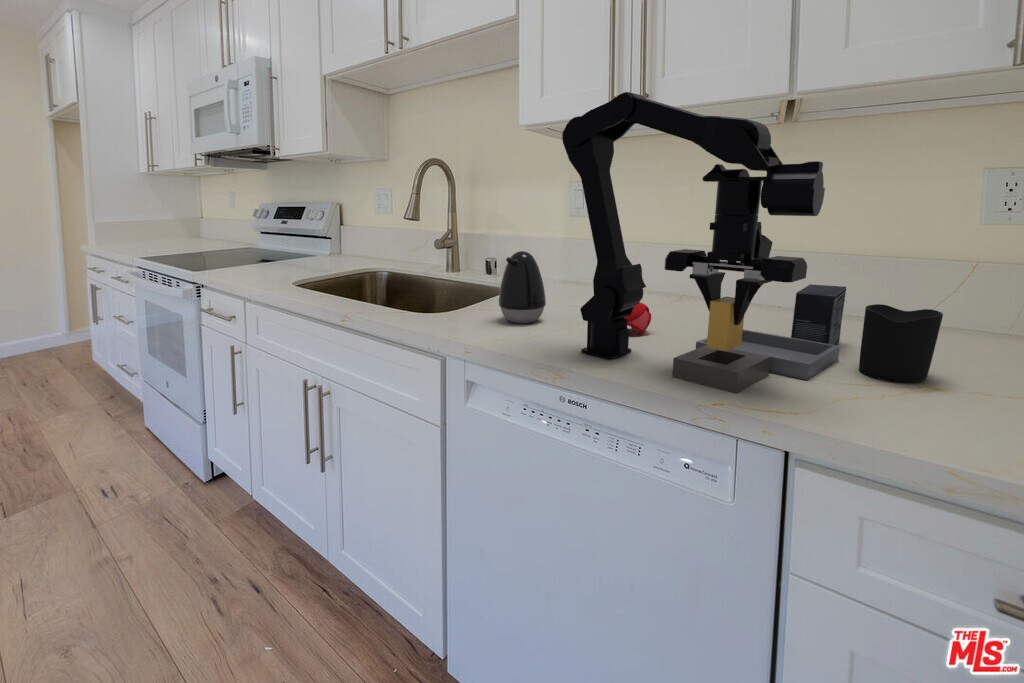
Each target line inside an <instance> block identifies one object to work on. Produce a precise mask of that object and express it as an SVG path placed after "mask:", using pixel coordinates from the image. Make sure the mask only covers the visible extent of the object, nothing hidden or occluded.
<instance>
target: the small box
mask: <svg viewBox="0 0 1024 683" xmlns="http://www.w3.org/2000/svg"><path fill="white" fill-rule="evenodd" d="M846 291H847V287H846V286H841V285H827V284H826V285H825V284H823V285H822V284H808V285H807V286H805V287H803V288H802V289H800V290H798V291H797V292H796V293H795V303H794V309H793V317H792V319H793V320H792V326H791V335H790V337H791V338H797V339H803V340H808V341H814V342H820V343H826V344H832V345H838V344H839V343H840V338H841V329H842V320H843V314H844V306H845V302H846V293H847V292H846Z"/></svg>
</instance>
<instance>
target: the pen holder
mask: <svg viewBox="0 0 1024 683" xmlns="http://www.w3.org/2000/svg"><path fill="white" fill-rule="evenodd" d="M864 310H865V311H864V316H863V317H864V320H863V327H862V334H861V335H862V336H861V344H860V352H859V353H860V354H859V360H858V361H859V362H858V368H859V370H860V372H861V373H862V374H864V375H866V376H868V377H870V378H873V379H877V380H881V381H887V382H891V383H892V382H893V383H900V384H916V383H921V382H923V381H924V380H926V379H928V376H929V373H930V372H929V371H930V368H931V364H932V361H933V357H934V353H935V349H936V345H937V341H938V336H939V332H940V329H941V325H942V322H943V317H944V314H943V313H942V312H941V311H938V310H937V309H929V308H927V309H926V308H925V309H918V310H902V309H899V308H897V307H892V306H891V305H887V304H882V303H881V304H880V303H879V304H877V303H875V304H869V305H866V306H865V309H864Z"/></svg>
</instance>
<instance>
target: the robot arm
mask: <svg viewBox="0 0 1024 683" xmlns="http://www.w3.org/2000/svg"><path fill="white" fill-rule="evenodd" d="M636 124H638V125H639V126H644V127H646V128H650V129H653V130H656V131H659V132H662V133H665V134H668V135H671V136H675V137H677V138H680V139H684V140H687V141H689V142H692V143H693V144H696V145H697V146H699V147H700V148H702V150H704V151H705V152H707V153H708V154H710V155H712V156H714V157H716V159H717V158H718V159H719V160H721V162H722V161H723V162H724V163H726V164H732V165H733V164H735V165H742V166H743V167H745V168H736V169H735V168H733V169H729V168H728V169H727V168H725V166H724V164H720V163H719V164H718V163H716V164H714V166H713V168H712V169H711V170H710V171H709V172H707V173H706V174H705V175H704V176H703V177H702V181H703V182H707V183H708V182H709V183H710V182H711V183H713V182H715V183H717V187H716V198H715V199H716V200H715V210H714V212H715V213H714V222H712V221H711V222H709V228H708V229H709V231H713V233H712V234H713V235H712V247H711V251H707V253H706V250H701V249H700V250H699V249H690V248H689V249H687V248H686V249H685V248H684V249H677V250H671V251H669V252H668V254H666V257H665V259H664V270H665V271H670V272H671V271H672V272H684V271H685V270H686V269H687V268H692V273H690V274H689V278H690V279H692V280H693V279H694V281H695V283H696V285H697V287H698V289H699V291H700V293H701V295H702V297H703V300H704V301H705V304H706V307H707V310H708V312H710V301H712V300H716V299H719V298H722V296H721V292H722V283H723V280H724V277H725V276H726V272H725V271H730V272H731V271H732V272H740V273H743V275H744V276H743V277H742V278H739V279H735V281H736V282H735V295H734V298H735V305H734V324H735V325H739V324H740V323H741V321H742V319H743V317H744V318H745V314H746V312H747V310H748V309H749V308H750V307H749V306H750V304H751V302H752V300H753V298H754V297H755V296H756V294H757V292H758V291H759V289H760V288H762V286H763V285H764V284H768V283H772V282H778V283H794V282H797V281H800V280H804V279H806V278H807V270H808V265H807V261H806V260H805V258H804V257H797V256H783V255H782V256H781V255H776V256H771V257H770V255H771V250H772V246H773V241H772V240H771V239H770V238H768V236H766V235H764V234H763V233H762V229H763V228H762V222H761V221H759V213H760V205H761V208H763V209H767V212H768V214H769V216H782V217H783V216H785V217H789V216H791V217H793V216H794V217H795V216H796V217H817V216H819V214H820V212H821V210H822V207H823V202H824V197H825V191H826V187H824V184H825V182H824V181H825V180H824V173H823V167H824V163H823V162H822V161H806V162H802V163H787V164H786V163H785V164H783V162H782V161H781V159H780V158H779V156H778V154H777V152H775V150H774V148H773V147H772V146H771V144H772V134H771V133H770V129H769V128H768V126H766V124H764V123H762V122H759V121H755V120H752V119H749V118H748V119H747V118H744V117H735V116H731V117H730V116H724V115H723V116H722V115H721V116H720V115H705V114H704V115H703V114H700V113H696V112H694V111H689V110H686V109H683V108H679V107H675V106H673V105H669V104H666V103H662V102H660V101H656V100H653V99H648V98H646V97H645V96H643V95H641V94H638V93H633V92H631V91H630V92H629V91H624V92H622V93H620V94H618V95H616V96H615V97H614V98H612V99H611V100H610V101H607V102H606V103H604V104H601V105H599V106H597V107H595V108H592V109H590V110H588V111H587V112H585V113H584V114H583V115H581V116H579V115H578V116H574V117H573V118H571V119H570V120H569V121H568V122H567V124H566V125H565V128H564V129H563V130H562V133H561V134H562V135H561V137H562V138H561V139H562V145H563V146H564V149H565V152H566V155H567V159H568V161H569V162H570V164H571V166H573V168H574V170H575V171H576V172H577V174H578V175H579V177H580V179H581V180H580V181H581V185H582V190H583V191H582V192H583V195H584V200H585V205H586V212H587V216H588V220H589V225H590V231H591V236H592V240H593V246H594V252H595V256H596V267H595V271H594V274H593V275H594V276H593V280H592V284H593V296H592V297H590V298H589V299H588V300H587V301H586V302H585V304H583V305H582V306H581V307H580V313H581V314H580V315H581V318H582V320H583V321H584V322H587V325H586V326H587V332H586V334H587V335H586V347H584V348H581V349H580V350H581V351H580V352H581V353H585V354H589V355H592V356H596V357H600V358H604V359H609V360H612V359H615V358H618V357H620V356H624V355H627V354H630V353H632V348H629V341H630V329H629V328H628V325H627V323H628V319H625V318H624V317H626V316H631V314H632V312H633V310H634V307H635V306H637V305H638V304H639V302H640V303H641V301H642V299H643V298H644V288H646V287H647V285H646V284H645V282H644V278H643V268H642V264H641V263H637V264H632V262H631V260H630V259H629V258H628V256H627V253H626V250H625V243H624V237H623V232H622V227H621V224H620V217H619V212H618V207H617V202H616V196H615V191H614V186H613V182H612V181H613V180H612V176H611V167H612V163H613V158H614V154H615V147H614V144H615V143H614V142H616V141H618V140H620V138H622V137H624V136H625V135H626V134H627V132H629V130H631V129H632V127H633V126H634V125H636ZM746 168H747V169H746ZM748 170H749V171H756V172H757V171H758V172H766V176H750V173H749V171H748ZM720 270H721V271H720ZM722 271H723V272H722Z"/></svg>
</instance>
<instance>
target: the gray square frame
mask: <svg viewBox="0 0 1024 683" xmlns="http://www.w3.org/2000/svg"><path fill="white" fill-rule="evenodd" d="M770 360H771V356H767V355H762V354H757V353H751V352H746V351H741V350H736V349H730V350H727V351H722V350H717V349H713V348H708V347H707V345H705V346H702V347H700V348H697V349H696V348H695V349H692V350H690V351H688V352H685V353H682V354H680V355H677V356H675V357H673V359H672V373H671V374H672V376H671V378H675V379H679V380H683V381H686V382H687V381H688V382H691V383H693V384H694V383H695V384H698V385H703V386H707V387H710V388H714V389H718V390H722V391H726V392H730V393H734V394H737V393H739V392H741V391H743V390H745V389H746V388H749V387H750V386H752V385H754V384H755V383H757V382H759V381H761V380H763V379H764V378H766V377H768V376H769V375H770V372H769V368H770Z"/></svg>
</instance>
